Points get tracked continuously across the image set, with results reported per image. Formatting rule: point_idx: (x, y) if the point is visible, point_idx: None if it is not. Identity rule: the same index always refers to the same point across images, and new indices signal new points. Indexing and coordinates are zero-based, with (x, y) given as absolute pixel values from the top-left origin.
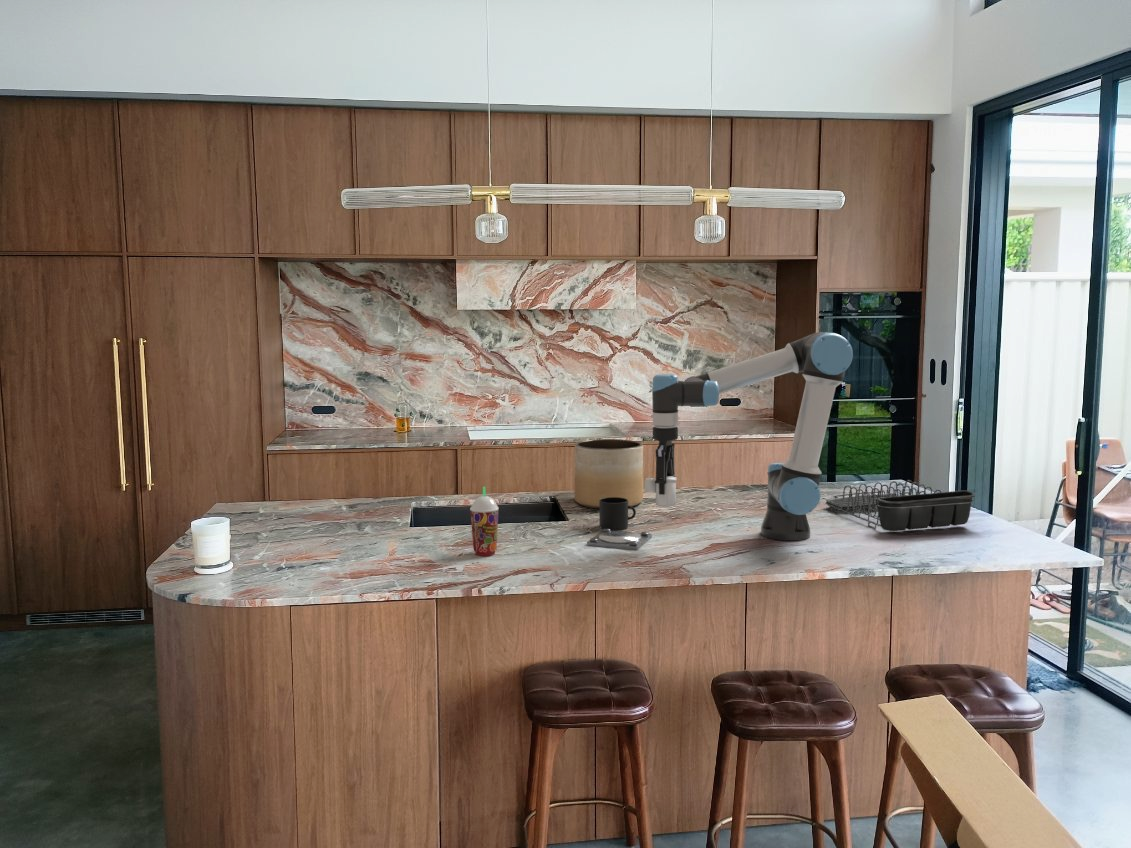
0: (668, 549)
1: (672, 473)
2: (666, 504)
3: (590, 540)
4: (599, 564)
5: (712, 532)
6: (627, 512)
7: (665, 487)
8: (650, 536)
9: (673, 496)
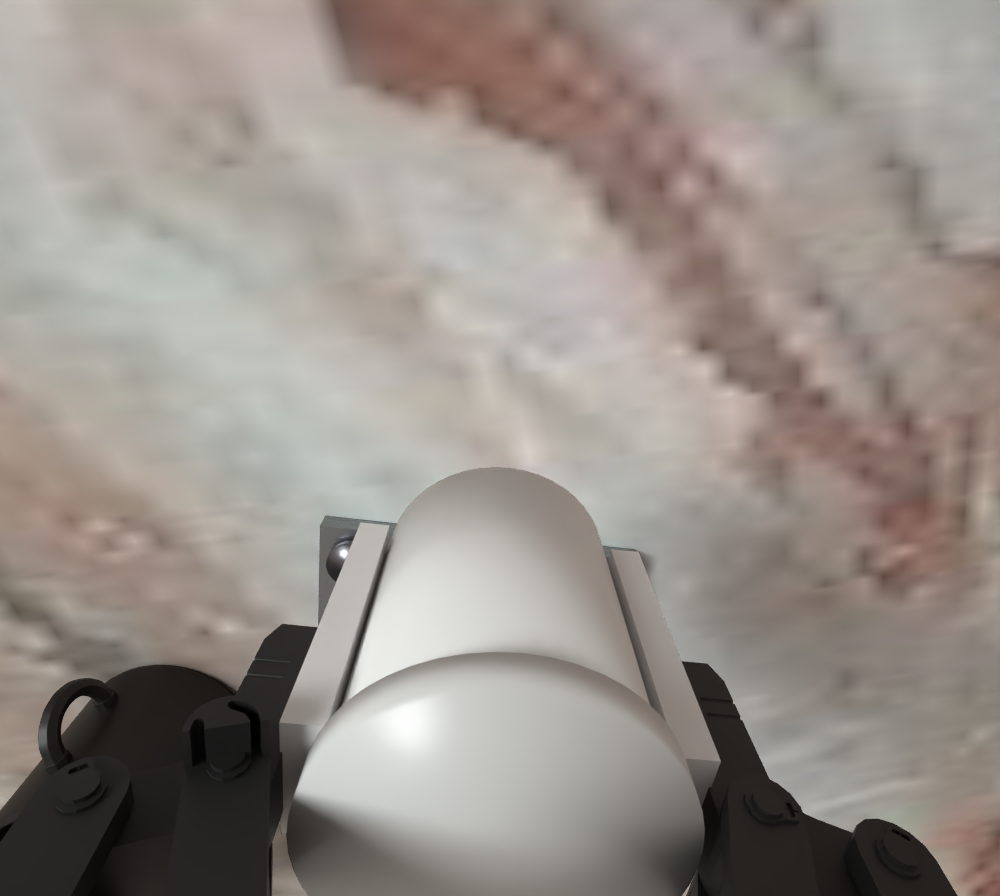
0: (590, 385)
1: (213, 825)
2: (639, 559)
3: None
4: (920, 672)
5: (17, 107)
6: (116, 738)
7: (696, 723)
8: (352, 524)
9: (569, 540)
